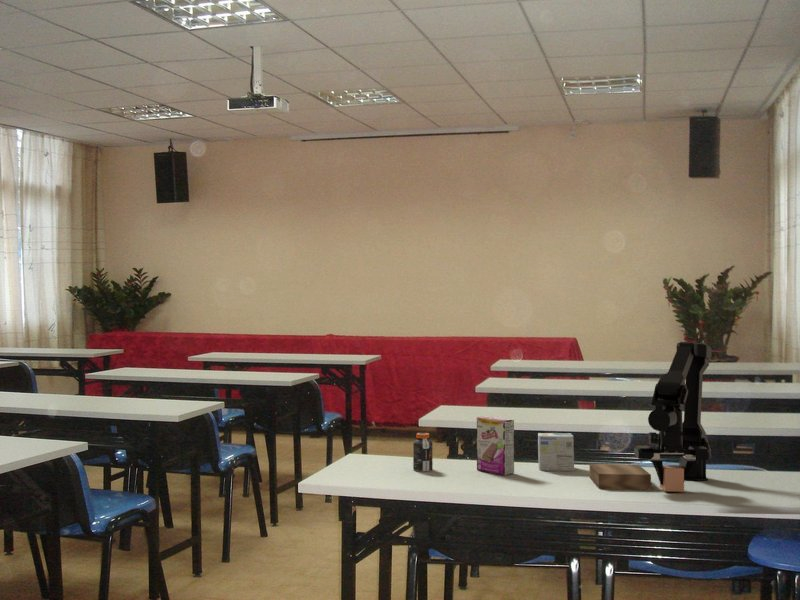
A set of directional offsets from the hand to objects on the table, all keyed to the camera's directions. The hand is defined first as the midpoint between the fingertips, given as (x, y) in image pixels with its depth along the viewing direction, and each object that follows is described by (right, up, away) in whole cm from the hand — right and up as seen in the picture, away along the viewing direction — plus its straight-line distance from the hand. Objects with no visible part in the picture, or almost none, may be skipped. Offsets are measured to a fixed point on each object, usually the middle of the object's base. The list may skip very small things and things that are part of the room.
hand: (671, 484), depth 209 cm
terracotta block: (0, -1, 0) cm, 1 cm away
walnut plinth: (-11, -2, +10) cm, 15 cm away
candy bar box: (-45, -3, +26) cm, 52 cm away
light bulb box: (-25, -3, +31) cm, 40 cm away
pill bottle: (-66, -3, +29) cm, 73 cm away
